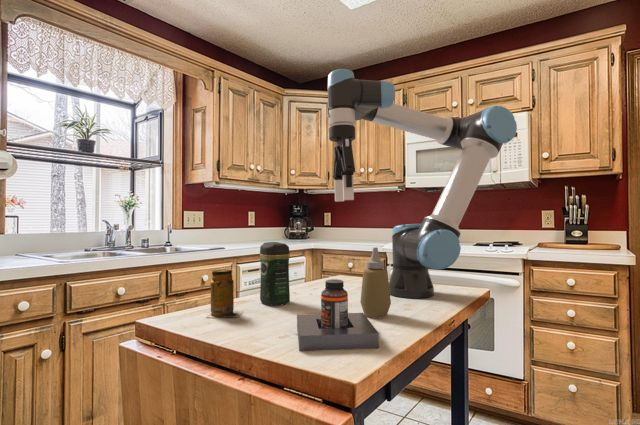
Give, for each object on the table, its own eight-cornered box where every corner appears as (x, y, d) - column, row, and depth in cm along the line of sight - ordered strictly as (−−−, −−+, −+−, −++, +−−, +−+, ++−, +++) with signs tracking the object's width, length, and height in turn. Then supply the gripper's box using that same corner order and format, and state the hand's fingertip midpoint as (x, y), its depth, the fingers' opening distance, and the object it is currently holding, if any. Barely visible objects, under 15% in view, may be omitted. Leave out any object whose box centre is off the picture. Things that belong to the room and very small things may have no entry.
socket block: (363, 325, 93) (362, 312, 93) (378, 348, 77) (378, 333, 77) (297, 327, 92) (296, 314, 92) (299, 351, 76) (299, 335, 76)
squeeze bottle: (388, 321, 97) (387, 249, 97) (356, 318, 99) (356, 248, 99) (393, 313, 104) (393, 246, 104) (364, 310, 107) (363, 246, 107)
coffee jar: (293, 304, 115) (293, 242, 115) (269, 307, 111) (269, 243, 111) (279, 298, 124) (279, 240, 124) (256, 301, 119) (256, 241, 119)
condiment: (213, 311, 108) (213, 268, 108) (243, 311, 108) (243, 268, 108) (205, 318, 101) (205, 272, 101) (238, 318, 101) (237, 272, 101)
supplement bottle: (315, 331, 86) (315, 280, 86) (336, 326, 89) (336, 277, 89) (332, 338, 81) (332, 284, 81) (353, 332, 84) (353, 280, 84)
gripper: (322, 135, 122) (324, 202, 122) (336, 115, 97) (338, 199, 97) (346, 135, 123) (348, 201, 123) (365, 115, 98) (367, 198, 98)
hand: (343, 200), depth 110 cm, fingers open, 13 cm apart
